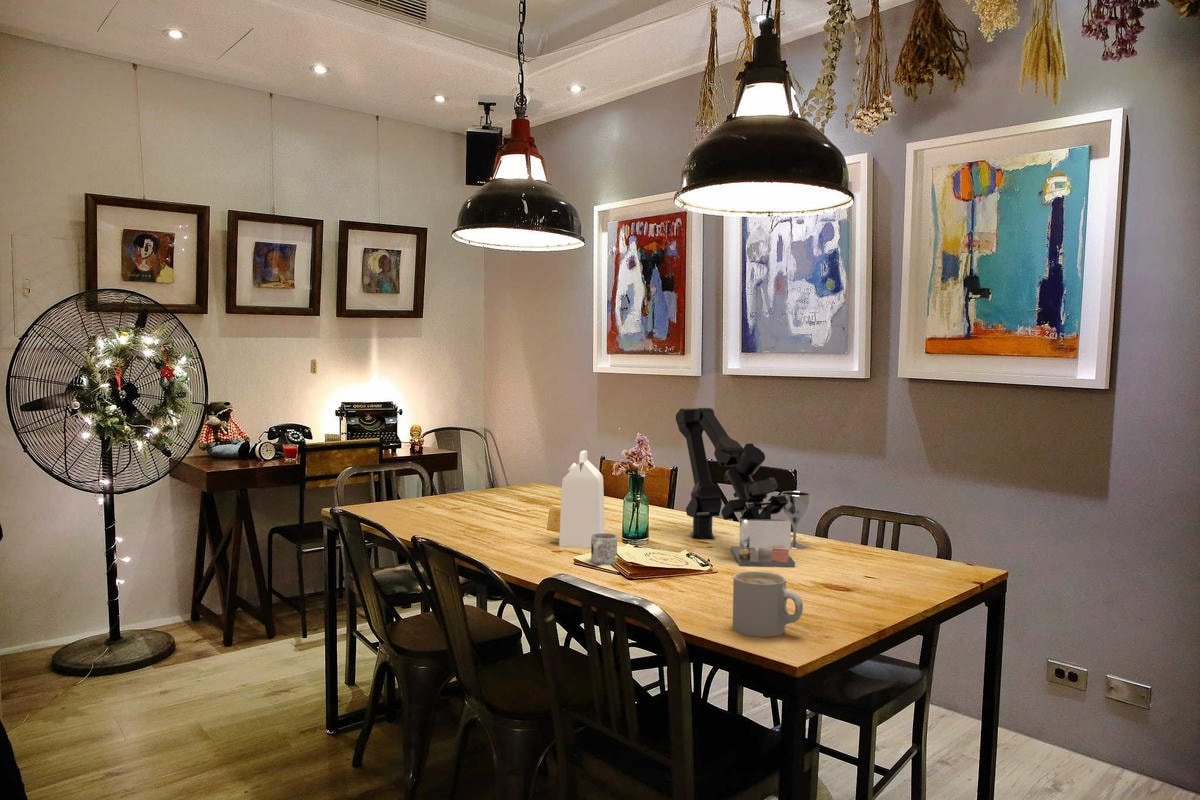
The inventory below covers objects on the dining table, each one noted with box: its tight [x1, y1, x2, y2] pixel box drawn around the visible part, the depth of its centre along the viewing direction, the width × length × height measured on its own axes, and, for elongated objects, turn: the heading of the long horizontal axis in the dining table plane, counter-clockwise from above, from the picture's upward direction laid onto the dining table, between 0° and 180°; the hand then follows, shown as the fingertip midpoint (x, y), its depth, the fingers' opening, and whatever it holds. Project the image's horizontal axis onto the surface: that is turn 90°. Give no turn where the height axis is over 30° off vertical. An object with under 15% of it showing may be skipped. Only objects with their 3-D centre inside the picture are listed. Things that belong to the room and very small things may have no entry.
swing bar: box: [739, 518, 792, 549], centre depth 212 cm, size 13×3×7 cm, turn 88°
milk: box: [558, 450, 606, 549], centre depth 232 cm, size 12×12×26 cm
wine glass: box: [780, 490, 811, 550], centre depth 232 cm, size 8×8×15 cm
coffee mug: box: [732, 570, 804, 638], centre depth 157 cm, size 13×10×10 cm
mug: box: [590, 532, 618, 566], centre depth 209 cm, size 10×7×7 cm, turn 159°
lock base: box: [730, 545, 796, 568], centre depth 216 cm, size 17×14×4 cm
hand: (768, 534), depth 213 cm, fingers closed
